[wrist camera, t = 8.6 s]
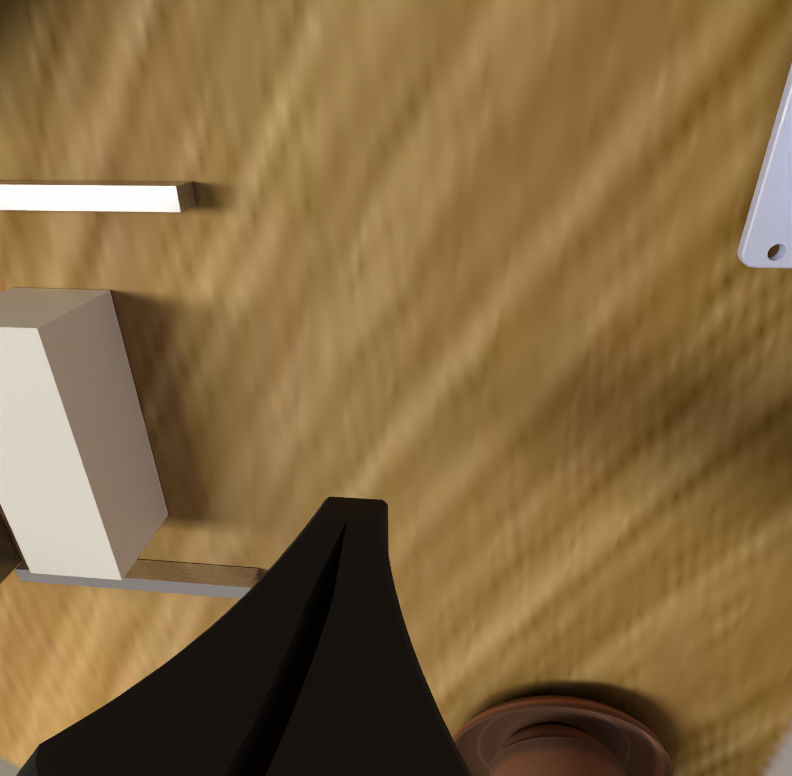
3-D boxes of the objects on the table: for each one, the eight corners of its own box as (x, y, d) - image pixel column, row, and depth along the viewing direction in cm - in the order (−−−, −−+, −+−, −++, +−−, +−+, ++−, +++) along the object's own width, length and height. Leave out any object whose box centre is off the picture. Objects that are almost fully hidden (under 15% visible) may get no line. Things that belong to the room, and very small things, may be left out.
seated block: (109, 290, 20) (36, 328, 17) (168, 514, 25) (121, 580, 22) (12, 287, 21) (-80, 324, 17) (89, 509, 26) (30, 572, 22)
